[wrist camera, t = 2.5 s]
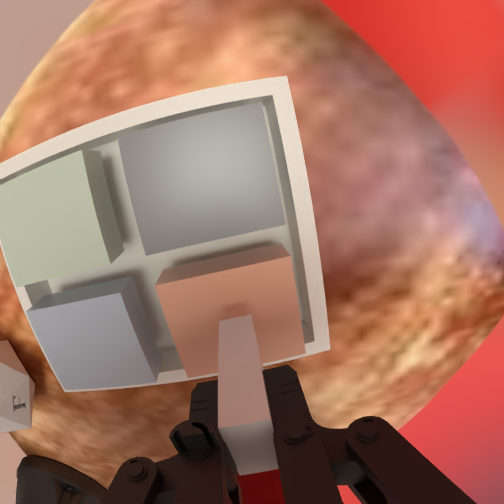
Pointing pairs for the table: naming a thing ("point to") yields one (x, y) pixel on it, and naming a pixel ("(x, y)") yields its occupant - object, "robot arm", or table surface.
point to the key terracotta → (232, 305)
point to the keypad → (151, 266)
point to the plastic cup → (261, 488)
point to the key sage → (58, 219)
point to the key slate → (97, 336)
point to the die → (14, 391)
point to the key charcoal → (202, 178)
